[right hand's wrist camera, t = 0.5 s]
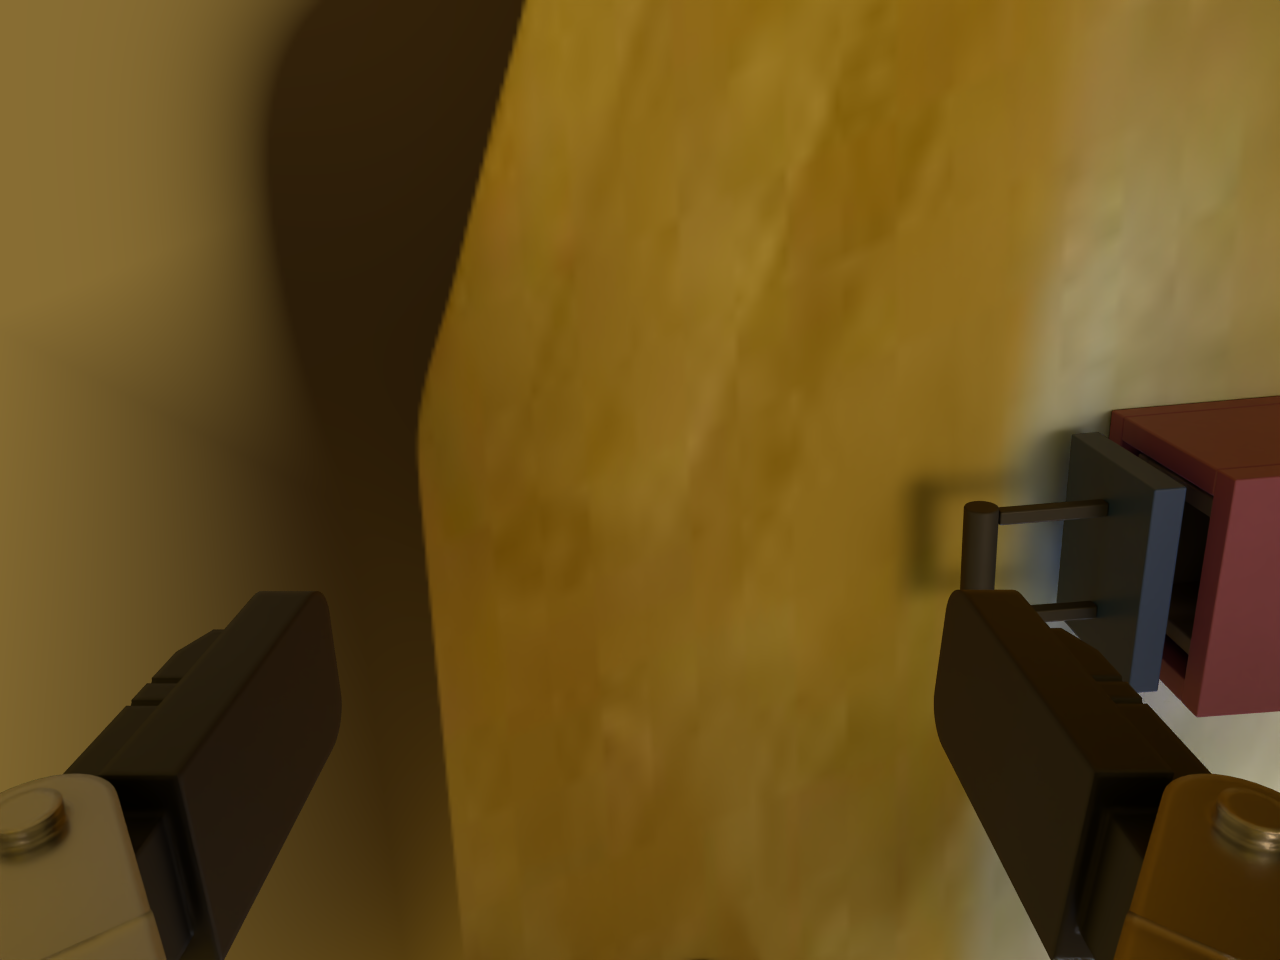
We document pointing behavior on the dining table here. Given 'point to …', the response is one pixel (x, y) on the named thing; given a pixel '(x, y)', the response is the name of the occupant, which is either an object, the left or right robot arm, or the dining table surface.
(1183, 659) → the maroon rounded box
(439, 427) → the dining table surface
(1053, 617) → the drawer
